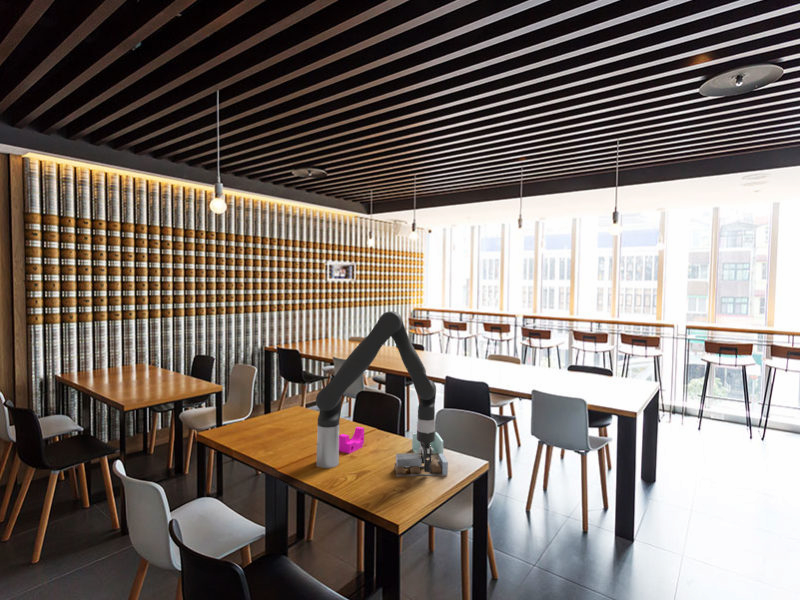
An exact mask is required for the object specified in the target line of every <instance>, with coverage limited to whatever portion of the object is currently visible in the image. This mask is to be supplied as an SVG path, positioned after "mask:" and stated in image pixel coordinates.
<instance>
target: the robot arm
mask: <svg viewBox="0 0 800 600" xmlns="http://www.w3.org/2000/svg"><path fill="white" fill-rule="evenodd" d="M405 327H406V326H405V325H404V321H403V318H402V316H401V315H400V314H399V312H397V311H394V310H393V311H386V312H384V313H383V314H382V315H381V316H379V318H378V320H377V321H376V324H375V325H374V326H373V328H372V329H371V331H370V332H369V334H367V336H365V337H364V339H362V340H361V341H360V343H359V344H358V345H357V346H356V347H355V348H354V349H353V350H352V351H351V353H350V354H349V355H348V357H347V358H346V359H345V361H344V362H343V363H342V365H341V366H340V367H339V369H338V370H337V372H336V373H335V375H334V376H333V377H332V379H331V380H330V381H329V382H328V383H327V384H326V385H325V386H324V387H323V388H322V389H321V390H320V391H318V393H317V394H316V398H315V405H316V407H317V408H318V410H319V412H318V413H319V414H318V417H317V430H316V431H317V434H316V435H317V436H316V437H317V439H316V467H317V468H321V467H322V469H332V468H336V467H337V466H339V464H340V462H339V461H340V451H339V435H340V419H341V415H342V413H341V412H342V411H341V410H342V397H343V395H344V394H345V392H346V391H347V390H348V388H350V387H351V386H352V385H353V384H354V383H355V382H356V381H357V380H358V379H359V378H360V377H361V376H362V375H363V374H364V373H365V372H366V370H367V369H368V368H369V367H370V366H371V364H372V362H374V360H375V358H376V357H377V355H378V354H379V351H380V350H381V348H382V347H383V345H384V344H385V343H386V342H387V341H388V340H389V339H390V338H392V340H393V342H394V344H395V345H396V347H397V350H398V352H399V353H398V354H399V355H400V358H401V361H402V364H403V365H404V368H405V369H406V371H407V373H408V375H409V377H410V378H411V380H412V381H411V382H412V384H413V387H414V390H415V393H417V395H418V397H419V404H418V406H417V421H416V433H417V440H418V441H419V442H420V451H421V452H420V453H421V454H420V456H421V458H422V464H423V466H424V468H423V472H424V473H429V472H430V463H432V454H431V451H432V449H431V446H430V443H431V442H433V441H434V440H435V432H436V420H435V419H436V418H435V417H436V415H435V414H436V413H435V412H436V411H435V410H436V407H435V405H436V404H435V403H436V396H437V386H436V384H435V381H433V380H431V379H429V377H428V375H427V371H426V367H425V366H424V363H423V362H422V360H421V358H420V356H419V354H418V353H417V350H416V349H415V346H414V345H413V344H412V341H411V339H410V338H409V336H408V333H407V330H406V328H405ZM427 458H428V459H427ZM430 473H431V472H430Z"/></svg>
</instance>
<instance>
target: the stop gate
mask: <svg viewBox="0 0 800 600" xmlns="http://www.w3.org/2000/svg"><path fill="white" fill-rule="evenodd" d="M437 461H438V462H439V464H440V466H441V468H442V474H443V475H448V471H449V470H448V469H449V462H448V460H447V458H446V456H445V454H444V453H443V454H438V460H437ZM443 475H442V476H443ZM448 476H449V475H448Z"/></svg>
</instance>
